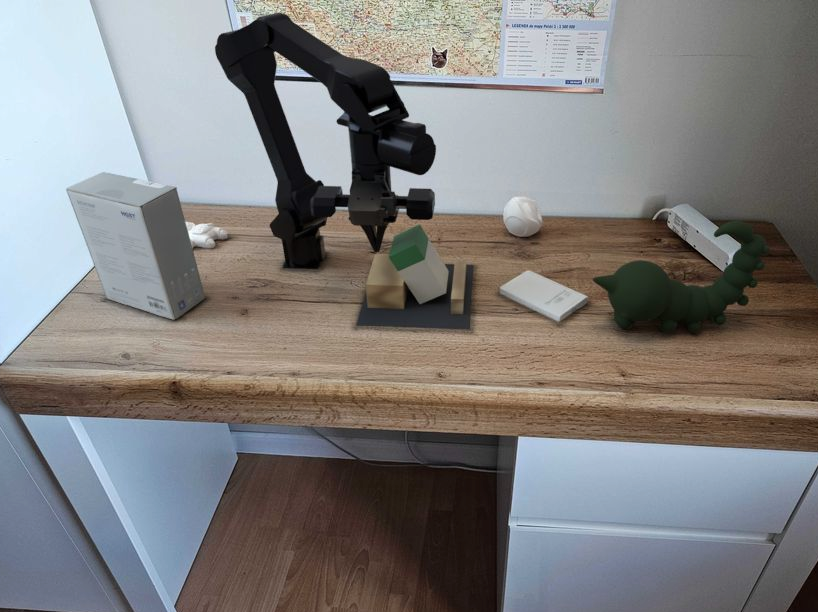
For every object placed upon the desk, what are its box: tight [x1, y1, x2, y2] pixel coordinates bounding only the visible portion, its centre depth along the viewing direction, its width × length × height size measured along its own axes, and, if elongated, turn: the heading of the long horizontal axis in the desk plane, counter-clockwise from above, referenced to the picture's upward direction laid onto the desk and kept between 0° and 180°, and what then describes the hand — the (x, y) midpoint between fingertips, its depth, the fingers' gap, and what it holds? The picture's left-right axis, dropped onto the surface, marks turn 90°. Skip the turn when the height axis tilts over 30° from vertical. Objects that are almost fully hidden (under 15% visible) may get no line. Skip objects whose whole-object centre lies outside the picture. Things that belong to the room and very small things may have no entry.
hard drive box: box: [65, 171, 206, 321], centre depth 106 cm, size 16×8×20 cm, turn 65°
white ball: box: [502, 195, 544, 238], centre depth 128 cm, size 8×8×8 cm
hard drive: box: [498, 269, 589, 323], centre depth 112 cm, size 2×8×12 cm
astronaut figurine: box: [185, 221, 229, 250], centre depth 128 cm, size 9×12×3 cm
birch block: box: [365, 253, 408, 309], centre depth 112 cm, size 6×10×4 cm, turn 177°
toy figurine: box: [592, 220, 771, 334], centre depth 101 cm, size 9×19×25 cm
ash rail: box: [451, 260, 467, 315], centre depth 112 cm, size 2×12×3 cm, turn 177°
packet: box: [388, 223, 449, 304], centre depth 110 cm, size 9×7×11 cm
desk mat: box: [355, 263, 474, 331], centre depth 113 cm, size 18×20×1 cm
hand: (377, 251), depth 109 cm, fingers closed
